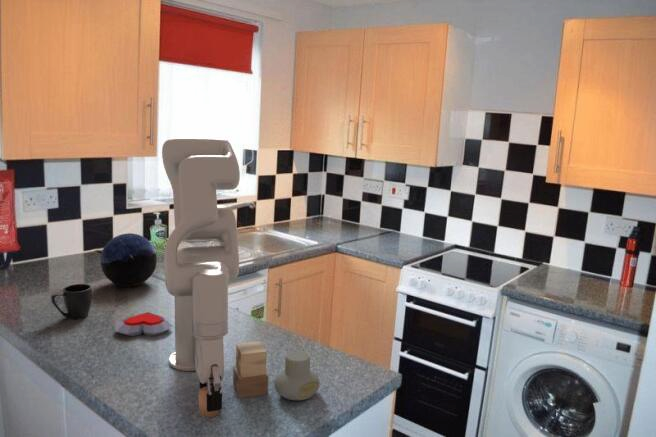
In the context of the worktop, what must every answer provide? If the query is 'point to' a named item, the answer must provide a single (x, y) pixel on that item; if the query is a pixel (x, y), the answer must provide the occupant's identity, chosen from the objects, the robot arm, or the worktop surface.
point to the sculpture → (143, 325)
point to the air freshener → (297, 377)
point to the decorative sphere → (128, 259)
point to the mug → (75, 301)
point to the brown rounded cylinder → (205, 404)
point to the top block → (250, 359)
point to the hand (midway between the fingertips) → (210, 399)
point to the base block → (250, 384)
